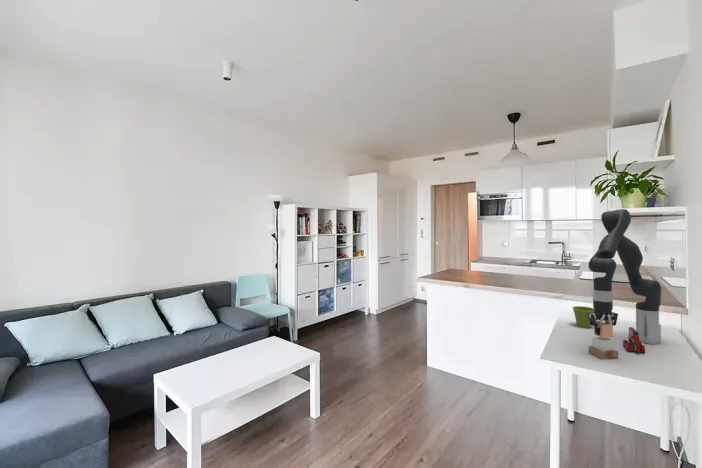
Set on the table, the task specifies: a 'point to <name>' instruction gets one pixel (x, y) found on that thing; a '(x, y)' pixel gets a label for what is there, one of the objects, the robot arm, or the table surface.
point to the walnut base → (603, 353)
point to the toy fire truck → (633, 342)
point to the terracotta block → (605, 330)
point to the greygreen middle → (603, 343)
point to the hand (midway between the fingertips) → (603, 334)
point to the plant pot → (582, 316)
